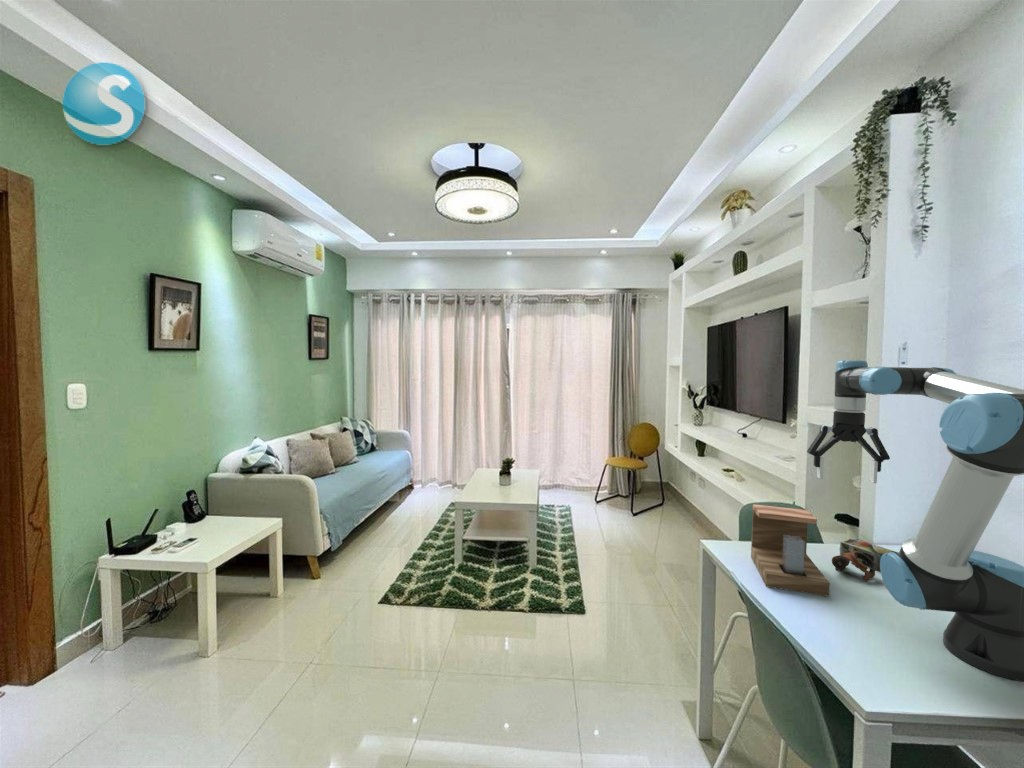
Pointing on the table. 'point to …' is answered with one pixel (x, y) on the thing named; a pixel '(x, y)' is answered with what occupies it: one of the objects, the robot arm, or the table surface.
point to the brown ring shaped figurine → (855, 563)
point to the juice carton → (864, 550)
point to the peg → (793, 555)
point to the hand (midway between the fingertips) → (845, 479)
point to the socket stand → (769, 549)
